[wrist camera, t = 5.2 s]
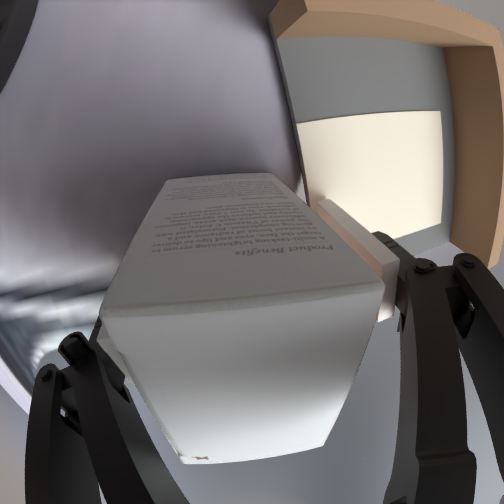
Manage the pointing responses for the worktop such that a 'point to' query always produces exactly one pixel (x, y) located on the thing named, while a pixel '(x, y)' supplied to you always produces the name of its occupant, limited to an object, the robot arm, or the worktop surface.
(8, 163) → the worktop surface
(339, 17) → the brown piece
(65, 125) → the worktop surface
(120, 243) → the worktop surface
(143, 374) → the small box
